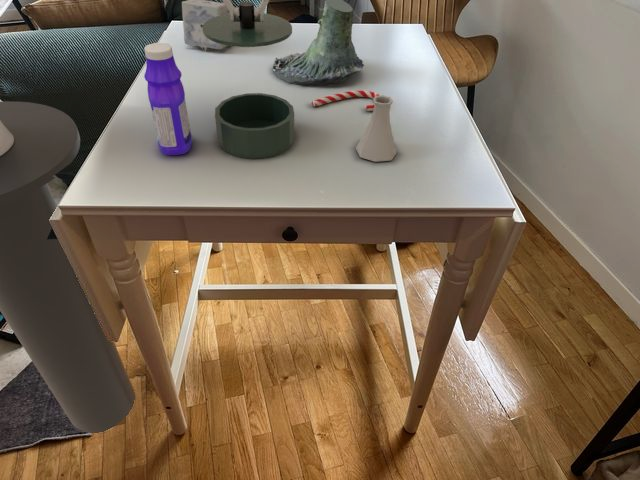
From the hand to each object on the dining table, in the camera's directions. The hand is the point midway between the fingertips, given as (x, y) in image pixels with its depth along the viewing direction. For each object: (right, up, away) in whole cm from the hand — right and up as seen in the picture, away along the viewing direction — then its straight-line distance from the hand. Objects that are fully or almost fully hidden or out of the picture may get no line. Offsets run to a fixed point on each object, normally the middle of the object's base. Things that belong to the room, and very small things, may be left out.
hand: (247, 20), depth 79 cm
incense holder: (-15, +12, +41) cm, 46 cm away
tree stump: (+12, +3, +32) cm, 34 cm away
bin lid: (0, -1, +1) cm, 2 cm away
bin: (0, -17, +9) cm, 20 cm away
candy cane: (+18, -8, +20) cm, 28 cm away
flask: (+22, -20, +7) cm, 31 cm away
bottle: (-13, -19, +6) cm, 25 cm away
